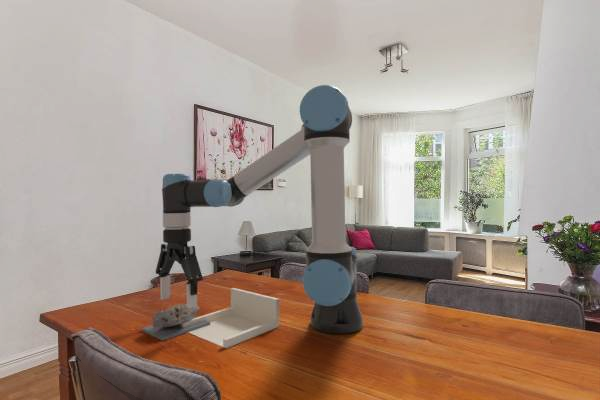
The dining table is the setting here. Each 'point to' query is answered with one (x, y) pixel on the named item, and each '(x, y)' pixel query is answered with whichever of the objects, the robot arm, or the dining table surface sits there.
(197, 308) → the stone
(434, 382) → the dining table surface
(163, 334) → the slate pad
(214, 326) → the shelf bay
